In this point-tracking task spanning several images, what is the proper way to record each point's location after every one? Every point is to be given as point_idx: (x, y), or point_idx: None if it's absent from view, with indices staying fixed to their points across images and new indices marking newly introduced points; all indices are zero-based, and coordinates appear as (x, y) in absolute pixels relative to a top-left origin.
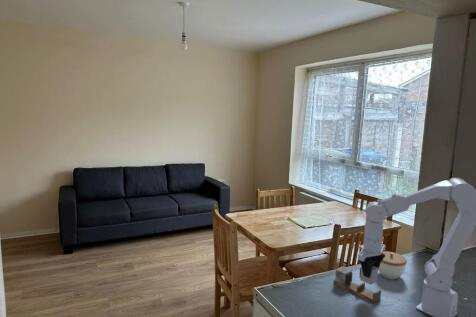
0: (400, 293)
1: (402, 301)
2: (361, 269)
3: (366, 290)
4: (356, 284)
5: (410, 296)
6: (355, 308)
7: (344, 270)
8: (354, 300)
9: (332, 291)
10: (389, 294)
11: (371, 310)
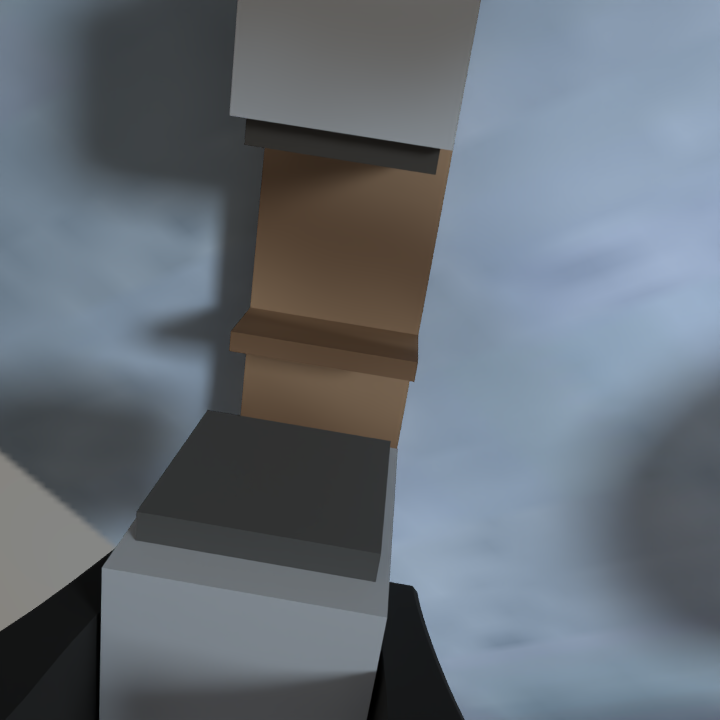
0: (645, 630)
1: (492, 670)
2: (126, 541)
3: (372, 388)
4: (429, 233)
5: (646, 705)
6: (8, 387)
7: (350, 30)
8: (133, 324)
9: (87, 15)
10: (544, 558)
11: (110, 509)
